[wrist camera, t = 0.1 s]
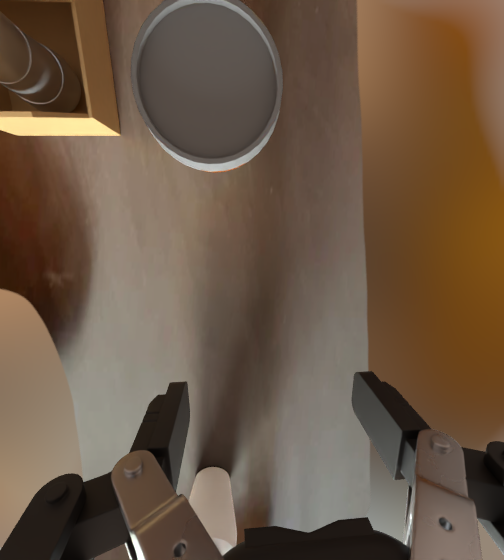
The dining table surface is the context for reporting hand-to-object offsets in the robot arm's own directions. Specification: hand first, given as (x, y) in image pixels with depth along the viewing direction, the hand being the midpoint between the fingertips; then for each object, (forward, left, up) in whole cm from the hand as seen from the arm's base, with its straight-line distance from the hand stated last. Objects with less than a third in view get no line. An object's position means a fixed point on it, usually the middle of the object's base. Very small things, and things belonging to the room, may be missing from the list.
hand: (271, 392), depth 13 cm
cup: (+42, -7, -30) cm, 52 cm away
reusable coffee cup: (-18, -3, -30) cm, 35 cm away
